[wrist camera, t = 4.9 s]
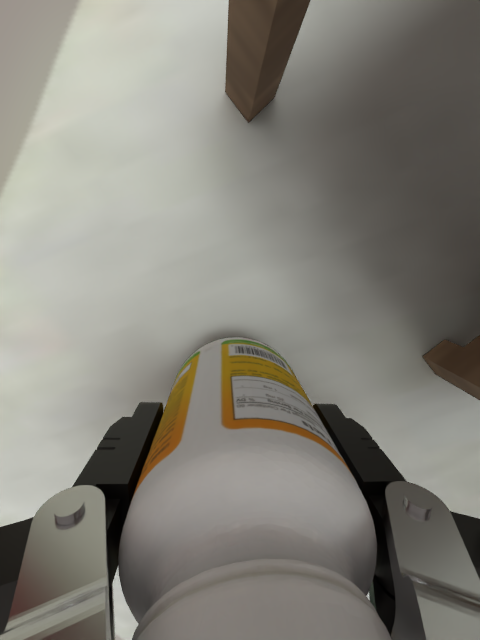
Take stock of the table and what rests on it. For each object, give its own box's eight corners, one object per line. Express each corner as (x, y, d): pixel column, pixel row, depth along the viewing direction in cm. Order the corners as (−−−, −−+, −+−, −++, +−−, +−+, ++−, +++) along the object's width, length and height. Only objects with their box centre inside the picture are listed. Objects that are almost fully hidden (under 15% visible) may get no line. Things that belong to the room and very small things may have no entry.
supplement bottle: (202, 458, 13) (153, 973, 4) (153, 360, 12) (-108, 785, 2) (309, 419, 13) (531, 856, 4) (271, 315, 12) (472, 588, 2)
